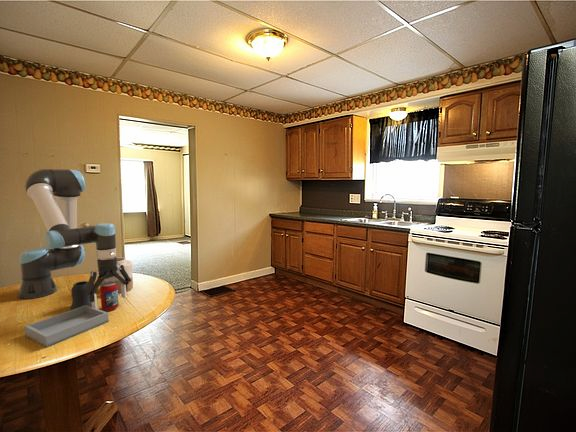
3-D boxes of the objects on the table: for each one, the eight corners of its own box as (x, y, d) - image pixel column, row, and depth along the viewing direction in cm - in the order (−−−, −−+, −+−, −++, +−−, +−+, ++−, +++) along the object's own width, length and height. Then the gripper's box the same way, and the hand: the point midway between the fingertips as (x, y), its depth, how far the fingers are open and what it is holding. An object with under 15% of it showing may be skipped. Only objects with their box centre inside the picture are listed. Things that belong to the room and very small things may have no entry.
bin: (25, 336, 113) (24, 326, 112) (87, 313, 132) (86, 304, 132) (47, 347, 106) (46, 336, 105) (108, 321, 125) (108, 312, 124)
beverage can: (110, 312, 134) (109, 286, 132) (98, 311, 135) (96, 285, 133) (122, 306, 140) (120, 281, 139) (109, 304, 141) (108, 280, 140)
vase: (138, 288, 163) (137, 258, 161) (109, 297, 150) (107, 265, 148) (123, 282, 171) (121, 254, 169) (94, 291, 158) (92, 260, 156)
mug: (94, 307, 138) (92, 284, 137) (70, 312, 133) (68, 288, 132) (93, 298, 148) (92, 277, 147) (71, 302, 143) (69, 280, 142)
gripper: (82, 265, 122) (85, 315, 124) (137, 252, 144) (139, 295, 146) (72, 263, 125) (76, 311, 128) (127, 251, 147) (130, 292, 150)
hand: (110, 302), depth 137 cm, fingers open, 13 cm apart
